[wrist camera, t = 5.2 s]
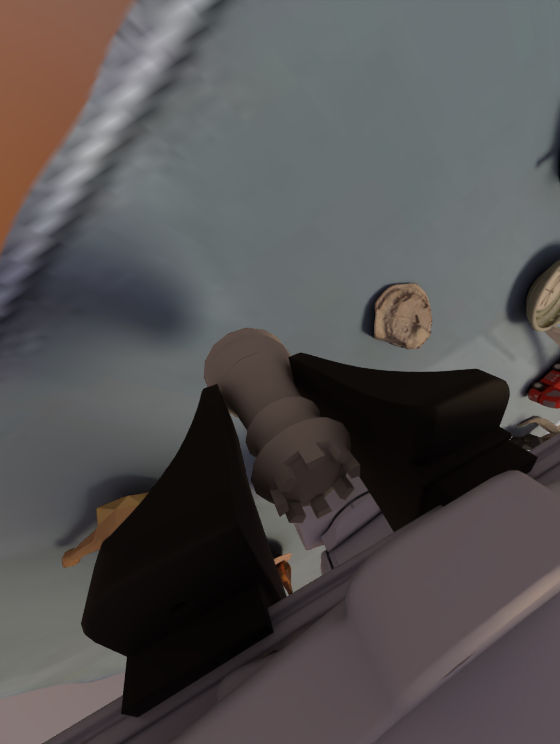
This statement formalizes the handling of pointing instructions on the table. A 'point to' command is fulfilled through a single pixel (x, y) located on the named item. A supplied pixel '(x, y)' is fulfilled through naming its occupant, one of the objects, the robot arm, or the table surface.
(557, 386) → the toy fire truck
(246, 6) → the table surface
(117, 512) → the toy
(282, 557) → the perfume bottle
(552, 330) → the knife
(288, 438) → the rook chess piece
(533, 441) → the toy
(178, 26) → the table surface
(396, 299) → the fossil
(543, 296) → the saucer
